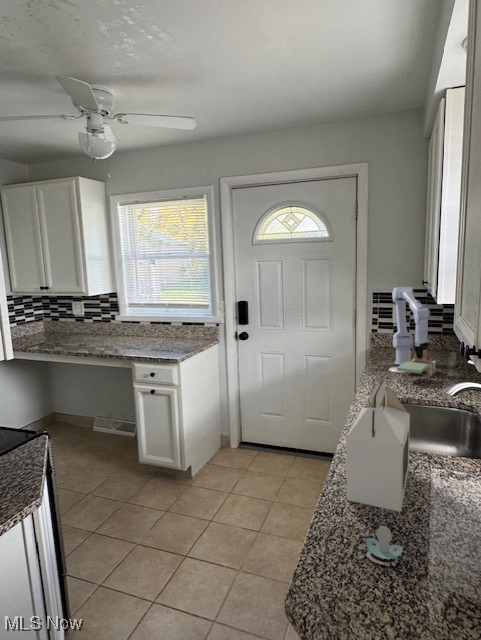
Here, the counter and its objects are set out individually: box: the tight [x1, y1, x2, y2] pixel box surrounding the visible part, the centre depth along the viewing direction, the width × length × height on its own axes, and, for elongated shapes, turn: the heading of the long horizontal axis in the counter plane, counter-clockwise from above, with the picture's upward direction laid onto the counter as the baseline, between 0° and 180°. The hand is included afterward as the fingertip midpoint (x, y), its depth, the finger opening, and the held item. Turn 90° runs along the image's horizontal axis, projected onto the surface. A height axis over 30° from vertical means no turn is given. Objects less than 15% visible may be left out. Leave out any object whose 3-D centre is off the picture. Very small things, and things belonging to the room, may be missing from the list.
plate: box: [388, 366, 407, 374], centre depth 222 cm, size 10×10×1 cm
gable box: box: [345, 378, 411, 512], centre depth 110 cm, size 22×13×28 cm, turn 153°
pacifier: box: [365, 525, 404, 564], centre depth 85 cm, size 7×6×6 cm
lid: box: [396, 361, 429, 374], centre depth 203 cm, size 14×11×2 cm
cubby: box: [406, 357, 437, 379], centre depth 215 cm, size 14×11×6 cm
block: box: [413, 349, 428, 362], centre depth 213 cm, size 5×5×5 cm
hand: (420, 357), depth 213 cm, fingers closed on block, 5 cm apart
